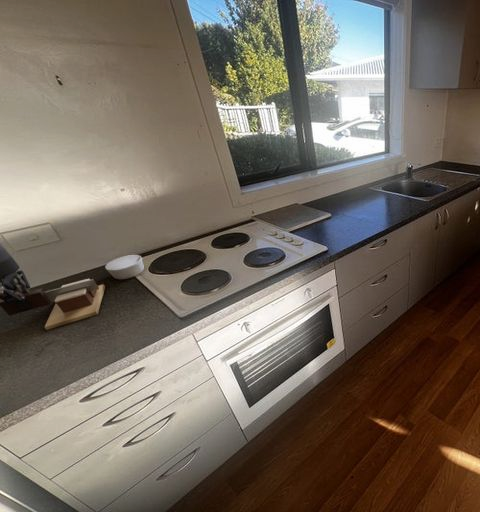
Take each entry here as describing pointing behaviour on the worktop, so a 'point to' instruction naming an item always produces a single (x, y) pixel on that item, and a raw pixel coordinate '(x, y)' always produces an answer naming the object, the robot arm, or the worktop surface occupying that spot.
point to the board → (75, 312)
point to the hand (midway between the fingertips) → (30, 306)
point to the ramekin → (125, 267)
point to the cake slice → (74, 300)
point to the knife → (46, 296)
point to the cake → (83, 281)
